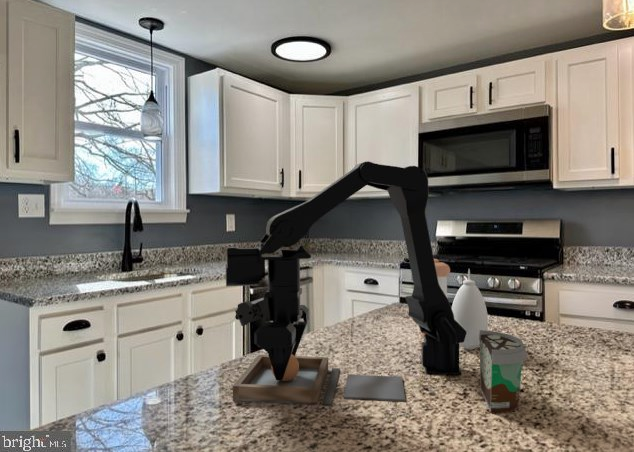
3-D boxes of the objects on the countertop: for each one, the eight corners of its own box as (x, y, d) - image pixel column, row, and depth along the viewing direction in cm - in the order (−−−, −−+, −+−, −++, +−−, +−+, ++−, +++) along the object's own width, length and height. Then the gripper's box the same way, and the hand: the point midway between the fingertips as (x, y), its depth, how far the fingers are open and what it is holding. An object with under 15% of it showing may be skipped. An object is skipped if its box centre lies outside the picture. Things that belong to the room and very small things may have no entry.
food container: (536, 420, 64) (537, 353, 64) (492, 417, 65) (492, 350, 65) (516, 387, 76) (516, 330, 76) (478, 385, 77) (479, 329, 77)
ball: (300, 379, 81) (301, 351, 81) (296, 384, 76) (296, 354, 76) (274, 378, 81) (275, 350, 82) (267, 383, 76) (268, 353, 77)
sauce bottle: (476, 356, 93) (476, 272, 92) (443, 348, 99) (443, 268, 98) (493, 348, 98) (494, 268, 97) (462, 341, 104) (462, 266, 103)
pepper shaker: (454, 334, 110) (454, 258, 110) (445, 341, 104) (445, 261, 103) (425, 330, 114) (426, 257, 114) (416, 336, 108) (416, 259, 107)
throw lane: (400, 372, 84) (400, 360, 84) (406, 409, 68) (406, 394, 68) (258, 366, 87) (258, 354, 87) (232, 400, 72) (232, 385, 71)
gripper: (254, 276, 88) (255, 352, 89) (222, 292, 70) (223, 389, 70) (309, 276, 87) (309, 354, 87) (290, 293, 68) (291, 392, 69)
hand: (284, 370), depth 78 cm, fingers open, 9 cm apart
